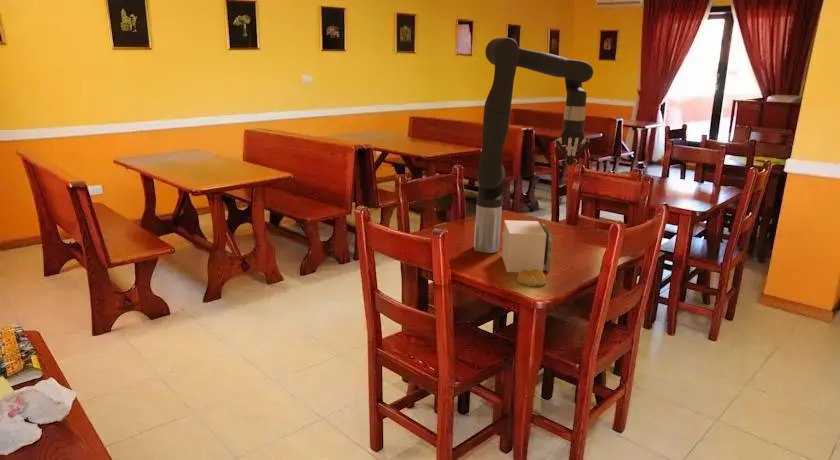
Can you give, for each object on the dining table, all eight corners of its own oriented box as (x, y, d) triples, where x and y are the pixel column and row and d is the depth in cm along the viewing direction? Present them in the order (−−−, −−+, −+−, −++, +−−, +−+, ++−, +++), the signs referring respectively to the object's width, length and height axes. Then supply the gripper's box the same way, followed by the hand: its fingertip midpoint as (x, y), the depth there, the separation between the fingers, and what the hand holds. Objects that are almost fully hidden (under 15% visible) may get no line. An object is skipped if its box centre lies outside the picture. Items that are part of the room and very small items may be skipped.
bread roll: (513, 278, 189) (514, 266, 187) (540, 277, 190) (541, 266, 189) (521, 287, 181) (522, 275, 180) (549, 286, 182) (550, 275, 181)
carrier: (509, 270, 194) (512, 234, 191) (504, 256, 208) (507, 222, 204) (551, 271, 194) (554, 235, 190) (544, 257, 207) (547, 223, 204)
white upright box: (506, 271, 193) (509, 233, 189) (501, 255, 209) (504, 220, 205) (542, 273, 193) (546, 234, 189) (534, 257, 209) (538, 221, 205)
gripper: (558, 119, 207) (553, 166, 212) (595, 120, 207) (589, 167, 212) (554, 117, 214) (549, 163, 219) (589, 118, 214) (584, 164, 219)
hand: (569, 165), depth 215 cm, fingers closed
